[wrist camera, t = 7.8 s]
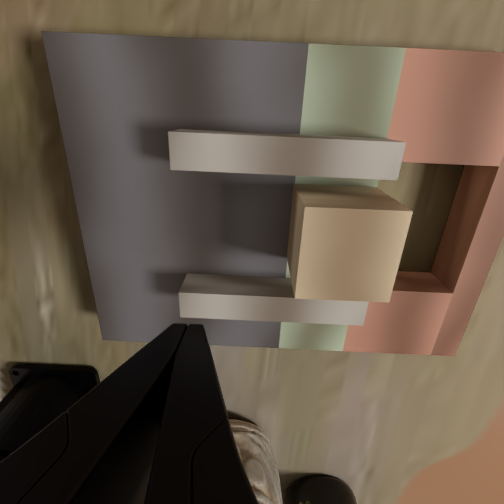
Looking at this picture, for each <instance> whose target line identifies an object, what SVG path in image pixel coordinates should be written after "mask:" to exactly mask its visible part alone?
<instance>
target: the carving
mask: <svg viewBox="0 0 504 504" xmlns="http://www.w3.org/2000/svg"><path fill="white" fill-rule="evenodd" d="M229 421H230V424H231V428H232V432H233V436H234V439H235V442H236V445H237V449H238V452H239V455H240V458H241V461H242V463H243V466H244V469H245V471H246V474H247V476H248V479H249V482H250V484H251V486H252V489H253V491H254V493H255V496H256V498H257V500H258V503H259V504H283V503H282V494H281V486H280V478H279V473H278V470H277V466H276V463H275V459H274V456H273V451H272V449H271V444H270V441H269V438H268V437H267V435H266V434H265V433H264V431H263V430H262V429H261V428H259V427H258V426H256V425H255V424H252V423H249V422H245V421H241V420H235V419H230V420H229Z"/></svg>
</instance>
